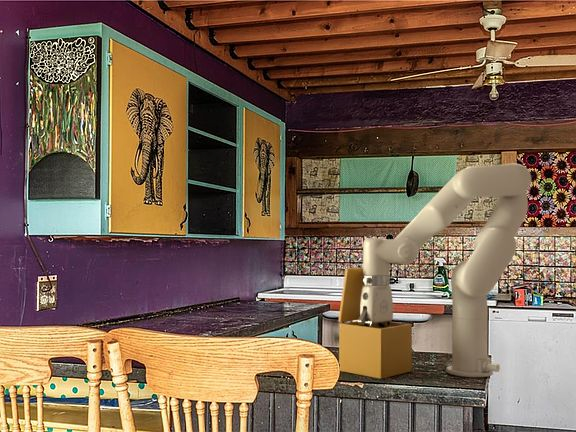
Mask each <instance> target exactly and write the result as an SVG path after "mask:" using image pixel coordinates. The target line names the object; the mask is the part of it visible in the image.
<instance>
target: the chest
mask: <svg viewBox="0 0 576 432" xmlns="http://www.w3.org/2000/svg"><path fill="white" fill-rule="evenodd" d="M381 324H382V323H381ZM338 325H339V328H338V329H339V330H338V337H339V339H338V365H339V364H340V371H339V372H344V373H349V374H355V375H358V376H359V375H360V376H365V377H369V378H374V379H379V380H381V379H385V378H390V377H394V376H398V375H402V374H407V373H410V372H412V369H413V368H412V367H413V366H412V365H413V360H412V359H413V324H412V323H406V322H398V321H397V322H396V321H391V322H390V325H389V326H388V327H387V328H373V327H370V324H368V326H369V327H365V326H360V324H359V323H358V321H354V322H353V321H346V322H339V324H338ZM374 326H377V327H378V324H377V323H374Z"/></svg>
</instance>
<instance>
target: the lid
mask: <svg viewBox="0 0 576 432" xmlns="http://www.w3.org/2000/svg"><path fill="white" fill-rule="evenodd" d="M342 274H343V276H344V278H343V284H342V285H343V286H342V293H341V299H340V308H339V314H338V320H337V321H338V323H347V322H353V320H358V319H359V317H360V302H361V293H362V287H363V267H347V268H345V269H344V270H343V272H342Z"/></svg>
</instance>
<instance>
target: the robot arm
mask: <svg viewBox="0 0 576 432" xmlns="http://www.w3.org/2000/svg"><path fill="white" fill-rule="evenodd" d="M531 184H532V175H531V173H530V170H529V169H528V168H527V167H526V166H525V165H523V164H520V163H505V164H493V165H479V166H478V165H477V166H468V167H465V168H463V169H461V170H459V171H458V172H456V173H455V174H454V175H453V176H452V177H451V178H450V179H449V181H448V182H446V184H444V186H443V187H442V188H441V189H440V190H439V191H438V192H437V193H436V194H435V195H434V196H433V197H432V198H431V200H430V201H428V202H427V204H425V205H424V206H423V207H422V209H421V210H420V211H419V213H417V215H416V216H415V217H414V218H413V219H412V220H411V221H409V223H408V224H407V225H406V226H405V227H404V228H403V229H402V230H401V231H400V233H398V234H397V236H395V237H394V238H391V239H389V238H388V239H387V238H385V237H384V238H383V237H368V238H365V239H364V241H363V245H362V248H363V249H362V268H363V287H362V293H361V302H360V317H359V319H358V323H359V324H360V326H365V327H369V326H368V324H370V327H373V328H374V323H377V324H378V327H381V328H387V327H388V326H389V325H390V322H392V321H393V318H394V302H393V300H394V299H393V293H392V287H391V286H390V283H391V281H390V277H391V276H390V274H391V273H390V271H391V270H390V269H391V266H390V265H391V264H395V265H403V266H405V265H410V264H412V263H414V262H415V261H416V260H417V258H418V256H419V251H420V249H421V248H422V247H423V246H425V244H426V243H427V242H428V241H429V240H431V239H432V238H433V237H434V236H435V235H437V234H438V233H440V232H442V231H443V230H445V229H446V228H448V226H449V225H451V224H452V222H454V221H455V219H456V218H457V217H458V216H459V215H460V214H461V213H462V212H463V211H464V210H465V209H466V208H467V207H468V206H469V205H470V204H471V203H472V201H474V199H476V198H489V197H496V204H495V207H494V208H493V210H492V212H491V214H490V216H489V217H488V219H487V221H486V222H485V223H484V225H483V226H482V228H481V230H480V231H479V233H478V234H477V235H476V237H475V239H474V242H473V252H472V254H471V255H470V256H469V258H468V259H466V260H462V261H460V262H459V263H457V264H456V265H455V267H454V268H453V270H452V272H451V275H450V276H451V277H450V287H451V301H452V302H451V303H452V323H451V324H452V325H451V326H452V327H451V328H452V329H451V330H452V331H451V333H452V334H451V335H452V337H451V338H452V339H451V340H452V341H451V365H447V367H446V373H448V374H450V375H453V376H456V377H457V376H458V377H464V378H487V377H491V376H493V375H494V372H495V373H496V372H497V373H499V372H500V370H501V367H500V366H501V365H500V363H494V362H492V361H491V360H492V358H491V357H488V318H489V317H488V315H489V313H488V311H489V309H488V295H487V294H489V293H490V292H491V291H492V290H493V289H494V287H495V286H496V285H497V283H498V282H499V280H500V279H501V277H502V275H503V274H504V272H505V270H507V268H508V265H510V263H511V262H512V260H513V258H514V255H515V253H516V250H517V241H516V238H515V237H516V235H517V233H518V232H519V230H520V228H521V226H522V225H523V222H524V221H525V219H526V216H527V214H528V213H527V212H528V208H529V207H528V206H529V201H528V195H527V190H529V188H530V186H531ZM381 323H382V324H381Z"/></svg>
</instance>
